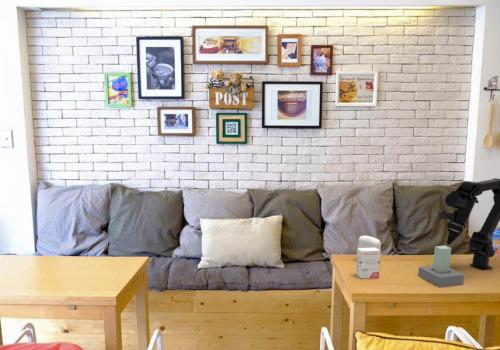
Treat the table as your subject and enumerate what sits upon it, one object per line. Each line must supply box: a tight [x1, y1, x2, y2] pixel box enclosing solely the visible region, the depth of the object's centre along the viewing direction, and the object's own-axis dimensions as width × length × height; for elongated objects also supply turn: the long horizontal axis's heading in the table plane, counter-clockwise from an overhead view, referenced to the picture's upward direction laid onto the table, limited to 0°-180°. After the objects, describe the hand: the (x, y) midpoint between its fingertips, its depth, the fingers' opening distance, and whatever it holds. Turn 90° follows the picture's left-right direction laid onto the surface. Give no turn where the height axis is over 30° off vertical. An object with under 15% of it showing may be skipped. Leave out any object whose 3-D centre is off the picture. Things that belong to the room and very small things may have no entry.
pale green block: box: [432, 245, 452, 274], centre depth 168 cm, size 5×4×13 cm
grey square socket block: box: [417, 264, 465, 288], centre depth 169 cm, size 12×12×4 cm
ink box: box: [355, 247, 381, 279], centre depth 171 cm, size 9×5×12 cm, turn 98°
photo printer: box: [357, 235, 382, 251], centre depth 187 cm, size 10×4×12 cm, turn 45°
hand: (449, 242), depth 178 cm, fingers open, 9 cm apart
